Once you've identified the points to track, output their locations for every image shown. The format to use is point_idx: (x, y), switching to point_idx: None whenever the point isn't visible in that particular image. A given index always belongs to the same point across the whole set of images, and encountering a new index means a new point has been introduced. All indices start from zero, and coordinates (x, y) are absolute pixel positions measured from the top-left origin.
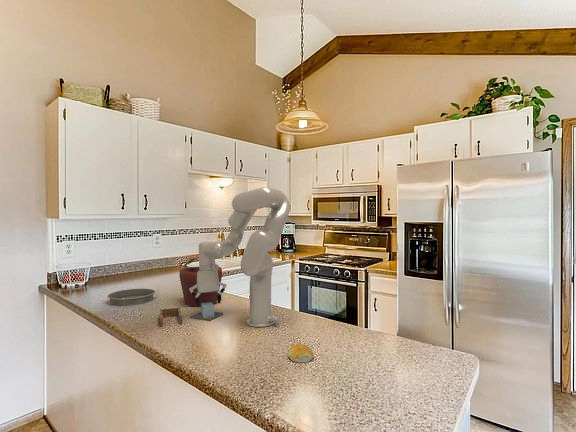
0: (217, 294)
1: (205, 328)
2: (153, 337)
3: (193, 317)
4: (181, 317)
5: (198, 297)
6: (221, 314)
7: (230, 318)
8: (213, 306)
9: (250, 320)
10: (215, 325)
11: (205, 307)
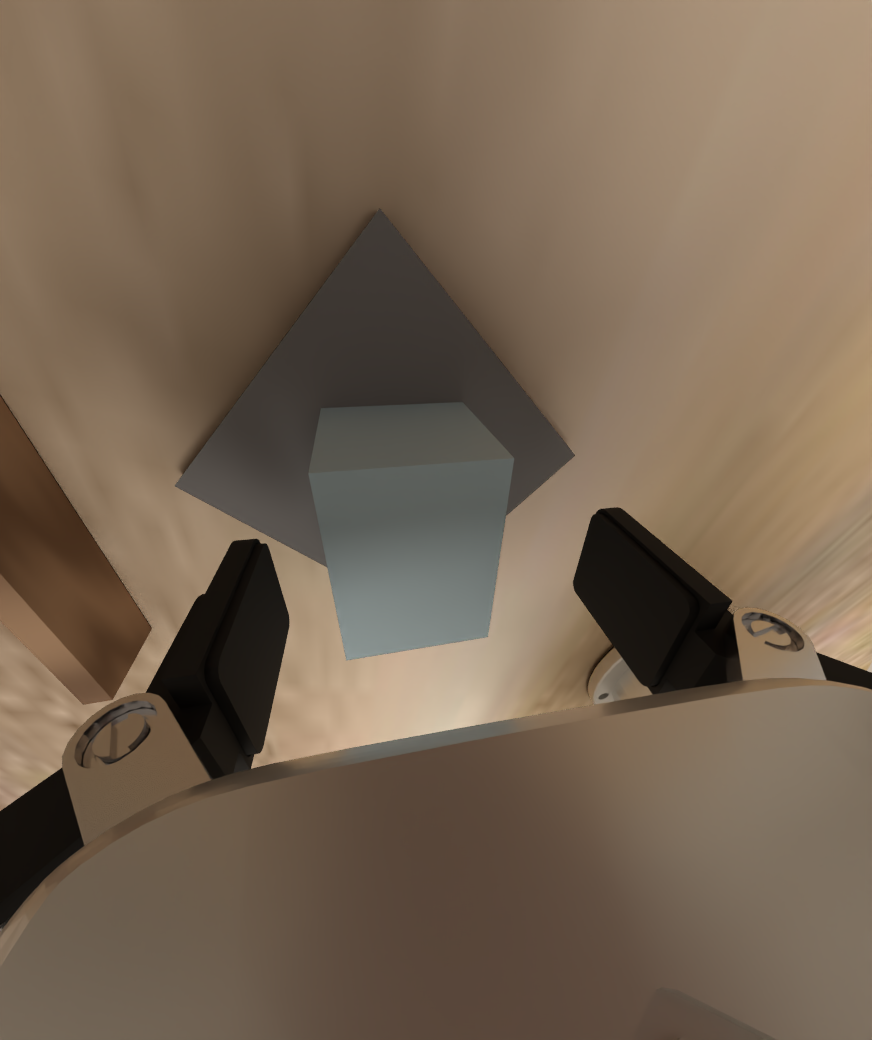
0: (686, 613)
1: (358, 700)
2: (19, 788)
3: (232, 511)
4: (108, 690)
5: (239, 762)
6: (542, 476)
7: (566, 568)
8: (477, 632)
9: (618, 695)
10: (426, 667)
11: (377, 647)
